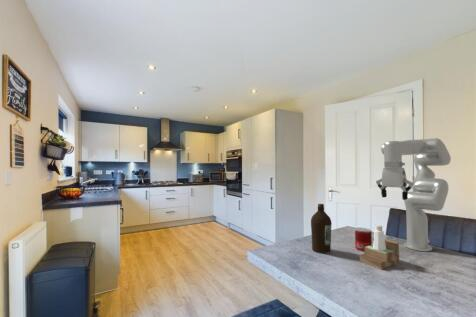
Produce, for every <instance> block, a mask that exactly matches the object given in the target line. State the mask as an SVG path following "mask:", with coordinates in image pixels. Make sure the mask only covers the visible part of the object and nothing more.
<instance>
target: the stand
mask: <svg viewBox="0 0 476 317" xmlns="http://www.w3.org/2000/svg"><path fill="white" fill-rule="evenodd" d="M373 242H374V237H372V243H373ZM385 245H386V250H384V251H380V250H376V249H374V248H373V244H372V245H371V246H367V247H365V252H364V253H363V254H359V262H360V263H363V264H366V265H368V266H370V267H374V268H376V269H378V270H381V271H382V270H385V269H387V268H389V267H392V266H395V265H397V264H399V263H400V247H399V246H400V243H399V242H397V241H394V240H389V239H387V238H385Z"/></svg>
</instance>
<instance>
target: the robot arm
mask: <svg viewBox="0 0 476 317" xmlns="http://www.w3.org/2000/svg"><path fill="white" fill-rule="evenodd" d="M380 151H381V153H382V155H383V159H384V160H383V161H384V167H383V169H382V173H381V178H380V179H377V180H376V181H375V182H376V185H377V187H378V188H379V189H380V190H381V191H380V193H381V194H380V195H381V198H387V197H388V196H387V188H400V189H401V190H402V192H401V195H402V197H401V198H402V200H403V202H404V206H405V213H406V214H405V216H406V218H405V220H406V241H405V242H403V246H404V247H405V248H407V249H410V250H413V251H418V252H419V251H420V252H432V251H433V248H432V247H431V246H430V245H429V243H430V239H429V224H428V222H429V221H428V220H429V219H428V218H429V217H428V216H427V213H426V212H425V211H424V210H427V211H433V212H439V211H442V210H443V209H444V207H445V203H446V200H447V197H448V193H449V183H448V182H447V181H446V180H445V179H444V178H436V174H435V172H434V171H433V170H432V169H431V168H430V167H429V166H431V167H435V166H439V167H442V166H447V165H449V164H450V163H451V160H452V159H451V155H450V152H449V150H448V149H447V146H446V145H445V143H444V141H442V140H441V139H440V138H438V137H437V138H436V137H435V138H434V137H433V138H423V139H409V140H407V139H406V140H400V141H399V140H388V141H385V142H384V143H383V144H382V145H381V147H380ZM402 156H413V163H414V166H415V169H416V175H415V178H414V180H413V182H412V181H410V180H408V179H407V174H406V170H405V167H403V166H406V163H405V162H403V158H402ZM410 190H412V191H410Z"/></svg>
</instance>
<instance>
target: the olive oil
mask: <svg viewBox="0 0 476 317" xmlns="http://www.w3.org/2000/svg"><path fill="white" fill-rule="evenodd" d="M332 224H333V223H332V220H331V217H330V216H329V215H328V213H326V211H325V204H323V203H318V204H317V211H316V212H315V213H314V214H313V215H312V216H311V219H310V228H311V231H310V232H311V249H312V251H313V252H314V253H319V254H329V253H331V252H332V250H331V248H332V246H331V245H332Z"/></svg>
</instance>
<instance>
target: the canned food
mask: <svg viewBox="0 0 476 317" xmlns="http://www.w3.org/2000/svg"><path fill="white" fill-rule="evenodd" d="M372 232H373V231H372V230H371V229H370V228H366V227H356V228H354V241H355V242H354V244H355V249H356V250H358V251H360V252H364V253H365V247H367V246H371V245H373V237H372V235H373V234H372Z"/></svg>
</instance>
